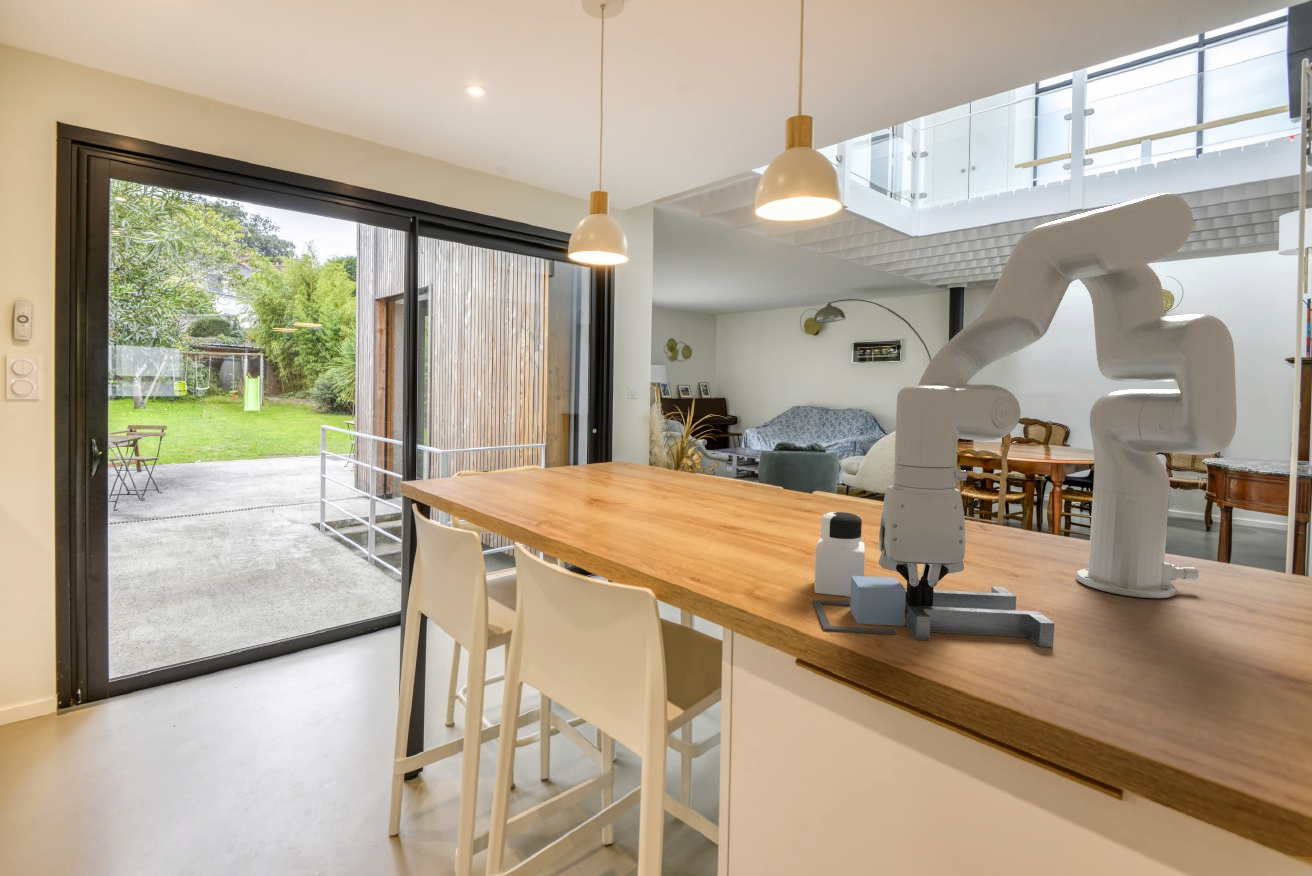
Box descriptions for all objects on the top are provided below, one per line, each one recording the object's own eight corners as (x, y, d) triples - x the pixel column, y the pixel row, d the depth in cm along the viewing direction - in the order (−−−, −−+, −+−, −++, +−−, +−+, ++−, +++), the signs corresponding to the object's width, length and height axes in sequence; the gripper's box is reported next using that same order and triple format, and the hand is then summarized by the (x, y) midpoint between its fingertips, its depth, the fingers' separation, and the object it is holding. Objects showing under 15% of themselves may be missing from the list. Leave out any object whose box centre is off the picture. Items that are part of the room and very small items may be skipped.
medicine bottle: (863, 584, 96) (865, 511, 96) (863, 599, 90) (865, 520, 89) (817, 580, 99) (819, 508, 98) (814, 593, 92) (816, 516, 91)
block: (894, 612, 84) (895, 577, 84) (904, 625, 79) (905, 589, 79) (850, 610, 85) (851, 575, 85) (857, 623, 80) (858, 587, 80)
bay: (875, 604, 87) (875, 602, 87) (896, 634, 76) (896, 632, 76) (812, 601, 88) (812, 599, 88) (823, 630, 78) (824, 628, 78)
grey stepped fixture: (1002, 607, 86) (1003, 587, 86) (1053, 647, 73) (1054, 623, 73) (887, 601, 88) (887, 582, 88) (915, 639, 75) (916, 616, 75)
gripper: (971, 475, 83) (966, 605, 84) (860, 473, 84) (856, 600, 86) (996, 483, 75) (989, 625, 77) (873, 481, 77) (868, 619, 78)
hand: (919, 612), depth 81 cm, fingers closed
